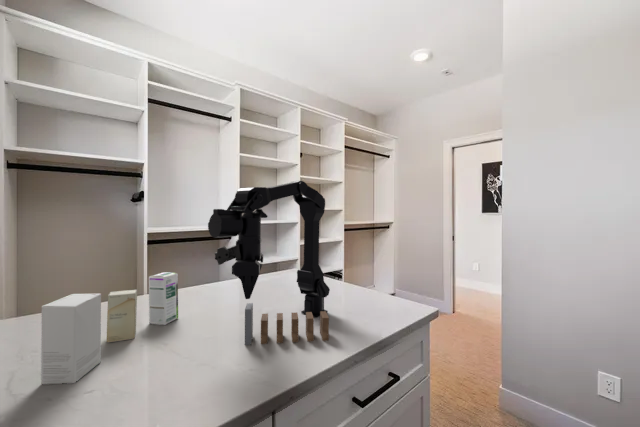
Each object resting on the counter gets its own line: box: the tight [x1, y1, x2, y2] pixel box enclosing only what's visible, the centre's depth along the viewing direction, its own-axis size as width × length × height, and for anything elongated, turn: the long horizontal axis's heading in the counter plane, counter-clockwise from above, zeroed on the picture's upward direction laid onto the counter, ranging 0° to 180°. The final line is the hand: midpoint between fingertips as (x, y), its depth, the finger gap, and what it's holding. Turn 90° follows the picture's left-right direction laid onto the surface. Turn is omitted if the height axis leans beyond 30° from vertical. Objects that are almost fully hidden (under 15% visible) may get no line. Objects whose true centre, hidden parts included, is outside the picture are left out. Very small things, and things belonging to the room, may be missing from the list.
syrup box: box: [148, 271, 179, 326], centre depth 89 cm, size 6×6×14 cm
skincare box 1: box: [40, 292, 102, 385], centre depth 60 cm, size 8×7×16 cm
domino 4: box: [305, 312, 315, 342], centre depth 78 cm, size 2×5×6 cm, turn 8°
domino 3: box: [290, 312, 299, 343], centre depth 78 cm, size 2×5×6 cm, turn 8°
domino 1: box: [260, 313, 269, 345], centre depth 76 cm, size 2×5×6 cm, turn 8°
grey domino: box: [244, 302, 254, 346], centre depth 76 cm, size 2×5×9 cm, turn 9°
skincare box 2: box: [106, 289, 138, 343], centre depth 77 cm, size 6×4×12 cm
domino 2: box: [276, 312, 284, 344], centre depth 77 cm, size 2×5×6 cm, turn 8°
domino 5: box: [319, 311, 330, 342], centre depth 79 cm, size 2×5×6 cm, turn 8°
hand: (249, 294), depth 76 cm, fingers open, 7 cm apart
